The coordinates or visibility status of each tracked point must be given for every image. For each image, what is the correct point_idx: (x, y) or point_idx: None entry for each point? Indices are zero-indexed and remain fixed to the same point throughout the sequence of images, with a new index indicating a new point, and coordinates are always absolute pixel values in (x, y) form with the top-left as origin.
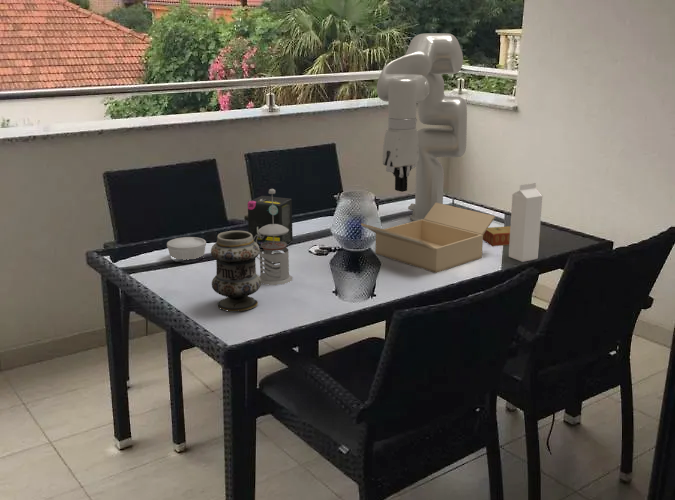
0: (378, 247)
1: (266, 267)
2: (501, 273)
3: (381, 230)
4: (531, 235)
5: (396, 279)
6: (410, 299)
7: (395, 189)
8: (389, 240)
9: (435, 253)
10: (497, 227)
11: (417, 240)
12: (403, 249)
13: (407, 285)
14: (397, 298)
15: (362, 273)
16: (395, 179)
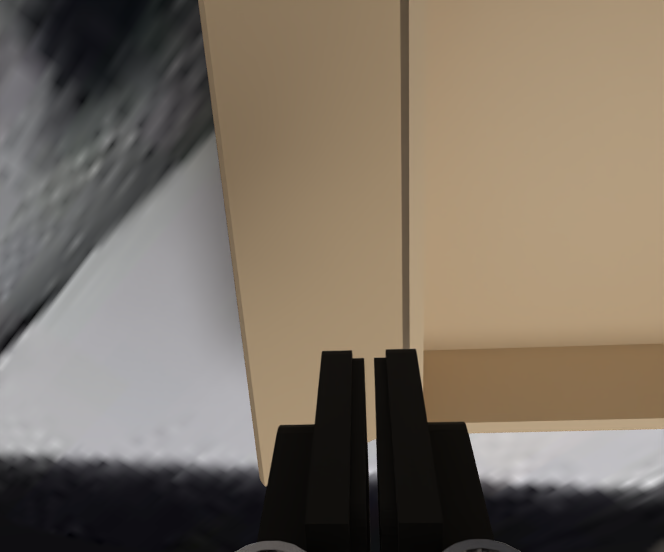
0: None
1: None
2: (606, 514)
3: (216, 135)
4: None
5: (185, 303)
6: (90, 485)
7: (323, 358)
8: (405, 10)
9: None
10: None
11: (259, 467)
12: (403, 153)
13: (178, 383)
14: (52, 453)
15: (87, 127)
16: (261, 526)
